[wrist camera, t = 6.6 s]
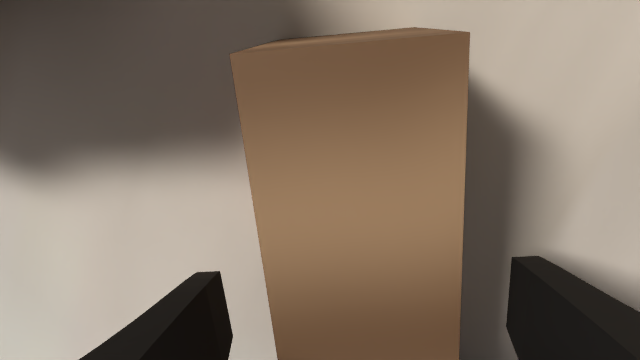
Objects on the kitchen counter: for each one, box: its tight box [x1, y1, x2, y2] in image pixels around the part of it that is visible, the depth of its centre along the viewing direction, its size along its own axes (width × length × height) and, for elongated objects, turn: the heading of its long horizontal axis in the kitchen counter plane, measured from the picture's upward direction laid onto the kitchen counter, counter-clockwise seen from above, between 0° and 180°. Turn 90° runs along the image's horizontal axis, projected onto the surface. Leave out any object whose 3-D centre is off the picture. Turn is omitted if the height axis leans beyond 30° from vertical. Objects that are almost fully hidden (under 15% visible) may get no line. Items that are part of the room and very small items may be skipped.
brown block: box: [230, 27, 470, 360], centre depth 11 cm, size 13×4×5 cm, turn 5°
